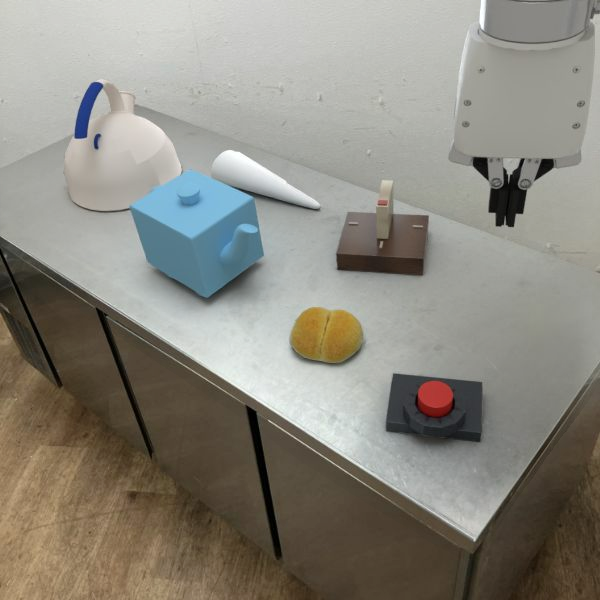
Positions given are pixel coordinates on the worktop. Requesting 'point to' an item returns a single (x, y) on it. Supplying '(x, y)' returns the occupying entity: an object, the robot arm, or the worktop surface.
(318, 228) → the worktop surface
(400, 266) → the panel
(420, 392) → the button
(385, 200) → the handle
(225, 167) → the long cone
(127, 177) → the kettle
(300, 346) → the bread roll
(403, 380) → the button block
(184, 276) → the teapot
